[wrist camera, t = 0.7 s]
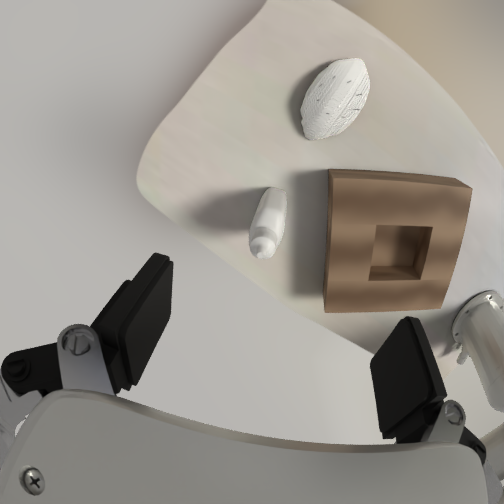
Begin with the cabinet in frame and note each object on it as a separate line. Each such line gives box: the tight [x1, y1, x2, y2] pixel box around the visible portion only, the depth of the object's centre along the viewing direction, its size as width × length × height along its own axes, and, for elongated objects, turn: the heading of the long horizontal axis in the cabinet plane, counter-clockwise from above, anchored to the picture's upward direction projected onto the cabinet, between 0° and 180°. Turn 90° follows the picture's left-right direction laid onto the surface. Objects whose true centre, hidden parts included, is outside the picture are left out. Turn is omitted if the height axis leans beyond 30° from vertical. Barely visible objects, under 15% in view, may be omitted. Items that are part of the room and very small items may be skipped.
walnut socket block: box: [323, 169, 472, 313], centre depth 32 cm, size 18×18×4 cm
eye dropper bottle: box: [249, 187, 287, 259], centre depth 30 cm, size 4×6×12 cm
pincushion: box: [300, 58, 370, 140], centre depth 25 cm, size 12×6×6 cm, turn 150°
